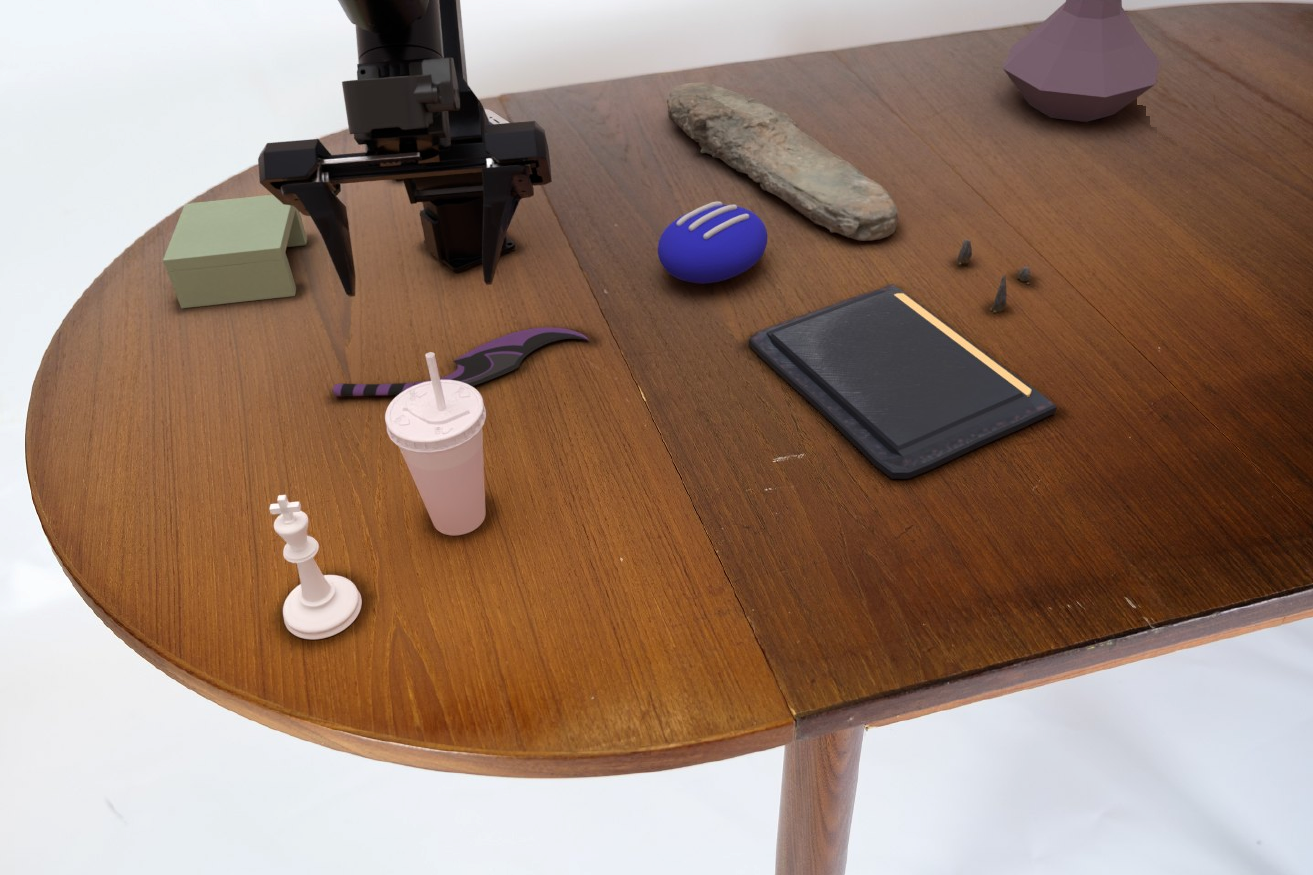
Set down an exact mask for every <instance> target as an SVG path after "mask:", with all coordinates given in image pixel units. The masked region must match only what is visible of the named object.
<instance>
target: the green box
mask: <svg viewBox="0 0 1313 875" xmlns="http://www.w3.org/2000/svg"><path fill="white" fill-rule="evenodd" d="M307 242H308V236H307V233H306V229H305V226H304V222H303V219H302V214H301V212H299V211H298V210H297V209H296V208H295V207H294V206H291V205H284V204H283V203H281V202H280V201H279V200H278V199H277V198H276V197H275V196H274V195H273V194H265V195H255V196H248V197H246V196H245V197H237V198H227V199H218V200H208V201H200V202H199V201H198V202H190V203H184V205H183V208H182V210H181V212H180V215H179V218H178V221H177V223H176V226H175V228H174V231H173V233H172V236H171V239H170V241H169V244H168V246H167V249H166V251H165V253H164V256H163V258H162V263H163V265H164V267H165V270H166V272H167V275H168V277H169V280H170V282H171V285H172V288H173V291H174V293H175V295H176V298H177V301H178V303H179V306H180V308H181V309H189V308H197V307H198V308H199V307H208V306H217V305H224V304H225V305H226V304H235V303H245V302H252V301H262V300H270V299H280V298H289V297H295V296H296V293H297V289H298V288H297V286H296V282H295V279H294V276H293V272H292V269H291V265H290V263H289V259H288V257H287V253H286V251H287V248H291V247H293V248H294V247H301V246H306V245H307Z"/></svg>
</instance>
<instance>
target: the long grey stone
mask: <svg viewBox="0 0 1313 875" xmlns="http://www.w3.org/2000/svg"><path fill="white" fill-rule="evenodd" d="M666 104H667V116H668V118H669V120H670V121H674V123H675V124H676V126H678V127H679V128H680V129H681V130H682V131H683V132H684V133H685V134H686V136H687V137H689V138H690V139H692V140H694V142H695V143H698V146H699V148H701V149H700V153H701V154H708V155H711V158H714V159H720V160H721V161H722V162H724V163H725V164H726V165H727V166H729V167H730V168H732V169H734V170H736V172H738V173H742V174H745V175H747V176H748V178H750V179H751V180H752V181H753V182H754V183H759V187H760V188H761V190H763V191H765V192H766V191H767V192H768V193H770V194H772V195H775V196H776V197H777V198H779V199H781V200H782V201H783V202H785V203H786V204H788V205H789V206H790V207H791V208H793V209H794V210H796V211H797V212H798V213H799V214H802V215H803V216H804V217H806V218H807V219H809V220H810V221H811V222H813V224H815V225H817V226H821V227H823V228H826V229H827V230H829V232H830V233H836V234H838V235H841V236H842V237H846V238H850V239H853V240H856V241H859V242H860V241H863V242H864V241H870V242H871V241H876V240H882V239H884V238H888V237H890V236H891V235H893V234H894V233H895V231H896V229H897V226H898V223H899V220H900V219H899V209H898V207H897V206H896V203H895V201H894V199H893V198H892V197H891V194H890V193H889V191H887V190H886V189H885V187H884V186H882V185H881V184H880V183H879V182H877V181H875V180H874V179H872V178H869V177H868V176H866V175H864V174H863V173H862V172H861V171H860V170H859V169H857V168H856V167H855V166H854V165H853V164H852V163H850V162H849V161H847V160H845V159H843V158H842V156H840V155H837V154H835V153H833V152H831V151H830V150H829V149H828V148H826V146H823V145H822V144H821V143H819V142H818V141H817V140H816V139H815V138H814V137H813V136H811V135H809V134H807V133H805V132H804V131H802V130H801V129H800V128H799V127H798V123H797V122H795V121H794V120H793V119H792V118H791V116H790V115H789V114H788V113H787V112H784V111H778V110H777V109H775V108H774V107H771V106H768V105H767V104H766V103H765V102H762V101H760V100H757V99H756V97H751V96H750V97H747V95H745V94H742V93H739V92H736V91H733V90H730V89H727V88H725V87H720V86H718V85H716V84H715V85H714V84H712V83H708V82H689V83H683V84H679V85H677V86H675V87H674V88H673V89H672V91H671V92H669V96H668V97H667V99H666Z"/></svg>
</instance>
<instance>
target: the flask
mask: <svg viewBox="0 0 1313 875" xmlns="http://www.w3.org/2000/svg"><path fill="white" fill-rule="evenodd" d="M1159 66H1160V58H1159V57H1158V56H1157V55H1156V54H1155V52H1154V51H1153V49H1152V48H1151V47H1150V45H1149V44H1148V43H1147V42H1146V41H1145V39H1144V38H1143V37H1142V35H1141V34H1140V33H1139V32H1138V30H1137V28H1136V27H1135V25H1134V24H1133V22H1132V20H1131V19H1130V17H1129V16H1128V14H1127V12H1126V11H1125V9H1124V7H1123V1H1122V0H1065V2H1063V3H1062V5H1060V6H1059V7H1057V9H1056V10H1055V11H1054V12H1052V13H1051V14H1050V15H1049V16H1048V17H1046V19H1045V20H1044V21H1043V22H1042V23H1040V24H1038V25H1037V26H1036V27H1035V28H1033V29H1032V30H1031V31H1029V32H1028V33H1027V34H1026V35H1024V36H1023V37H1022V38H1020V39H1019V40H1017V41H1016V42H1015V43H1013V44H1012V45H1011V48H1010V50H1009V52H1008V54H1007V57H1006V58H1005V62H1004V65H1003V66H1002V69H1003V71H1004V73H1006V75H1007V77H1008V78H1009V79H1010V80H1011V82H1012V83H1013V85H1014V86H1015V87H1016V89H1017V90H1018V92H1020V94H1021V95H1022V97H1023V98H1024V100H1025V101H1026V102H1027V103H1028V105H1029V106H1031V107H1032V108H1034V109H1035V110H1037V111H1039V112H1040V113H1042V114H1044V115H1045V116H1047V117H1048V118H1050V119H1057V120H1066V121H1076V122H1085V123H1087V122H1091V121H1096V120H1099V119H1103V118H1106V117H1110V116H1114V115H1115V114H1117V113H1118V112H1120V111H1121V110H1122V109H1124V108H1125V107H1127V106H1128V105H1129V104H1131V103H1132V102H1133V101H1135V100H1136V99H1137V98H1139V97H1140V96H1142V95H1143V94H1145V93H1146V92H1147V91H1149V90H1150V89H1151V88H1152V87H1154V86H1155V85H1156V84H1157V80H1158V79H1157V78H1158V72H1159Z"/></svg>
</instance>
